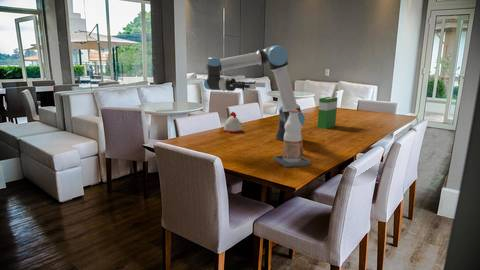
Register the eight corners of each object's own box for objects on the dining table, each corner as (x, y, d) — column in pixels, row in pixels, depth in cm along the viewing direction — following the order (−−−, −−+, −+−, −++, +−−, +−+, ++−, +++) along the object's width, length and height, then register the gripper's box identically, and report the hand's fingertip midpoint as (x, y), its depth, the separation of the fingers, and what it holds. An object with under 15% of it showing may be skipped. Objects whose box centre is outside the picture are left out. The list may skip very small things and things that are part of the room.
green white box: (327, 124, 282) (329, 96, 276) (335, 125, 277) (337, 97, 272) (317, 127, 269) (319, 98, 263) (325, 129, 264) (327, 99, 259)
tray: (297, 157, 187) (297, 153, 187) (310, 164, 174) (310, 161, 173) (273, 159, 182) (273, 156, 182) (285, 167, 169) (285, 163, 169)
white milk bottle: (279, 159, 180) (281, 109, 174) (293, 157, 184) (295, 108, 178) (289, 164, 172) (292, 111, 165) (303, 162, 176) (306, 110, 170)
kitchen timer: (229, 133, 244) (229, 114, 241) (220, 130, 255) (220, 111, 252) (245, 131, 251) (245, 112, 248) (235, 128, 263) (235, 110, 259)
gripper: (237, 89, 209) (268, 90, 199) (217, 92, 187) (251, 94, 178) (237, 77, 207) (268, 78, 197) (217, 79, 185) (251, 80, 176)
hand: (260, 85), depth 187 cm, fingers open, 13 cm apart
